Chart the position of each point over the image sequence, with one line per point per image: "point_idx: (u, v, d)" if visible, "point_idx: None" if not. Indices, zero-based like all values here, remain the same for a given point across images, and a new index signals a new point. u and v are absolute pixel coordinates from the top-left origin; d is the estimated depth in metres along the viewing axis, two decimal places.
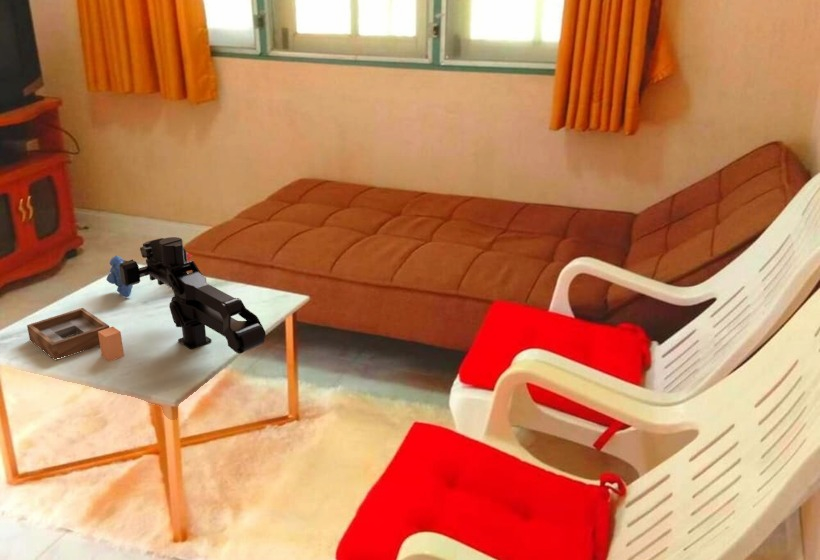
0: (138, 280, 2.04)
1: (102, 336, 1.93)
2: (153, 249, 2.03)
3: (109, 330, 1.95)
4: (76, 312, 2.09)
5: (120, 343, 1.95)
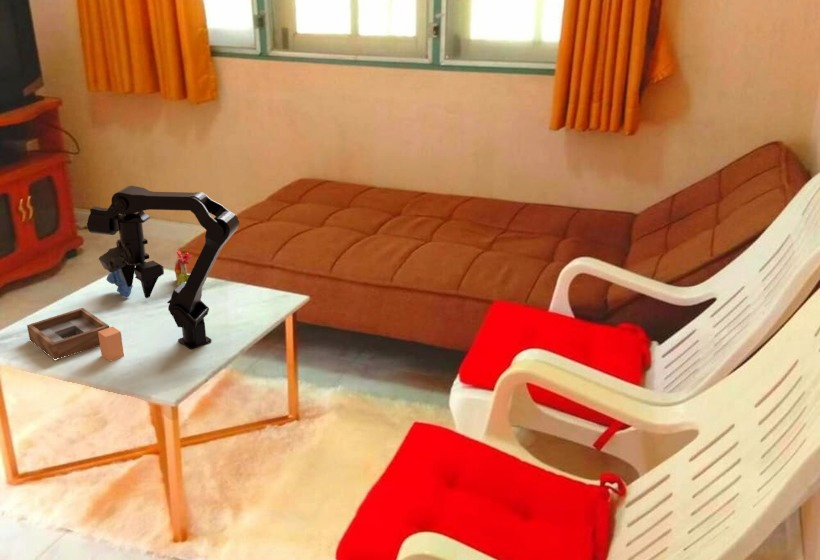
0: (152, 261, 1.95)
1: (102, 336, 1.93)
2: (112, 257, 1.91)
3: (109, 330, 1.95)
4: (76, 312, 2.09)
5: (120, 343, 1.95)
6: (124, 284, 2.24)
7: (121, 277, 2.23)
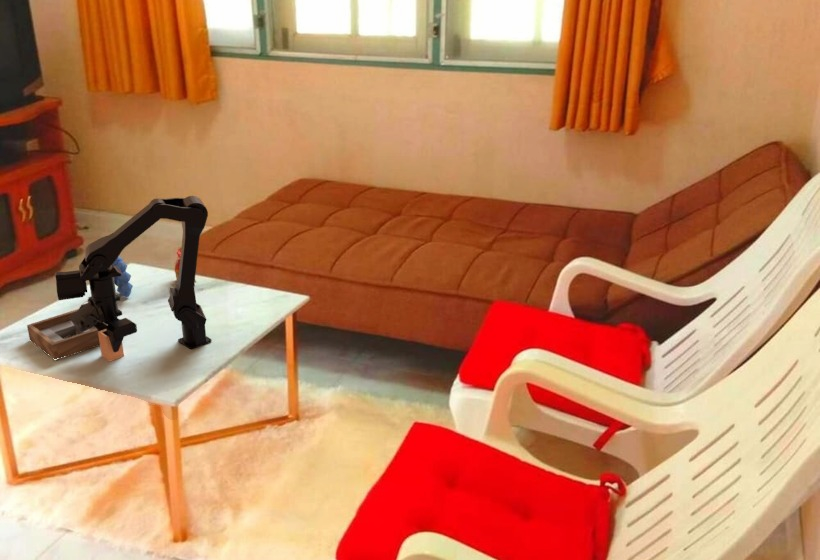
0: (125, 318, 1.90)
1: (102, 336, 1.93)
2: (83, 316, 1.86)
3: None
4: None
5: None
6: (124, 284, 2.24)
7: (121, 277, 2.23)
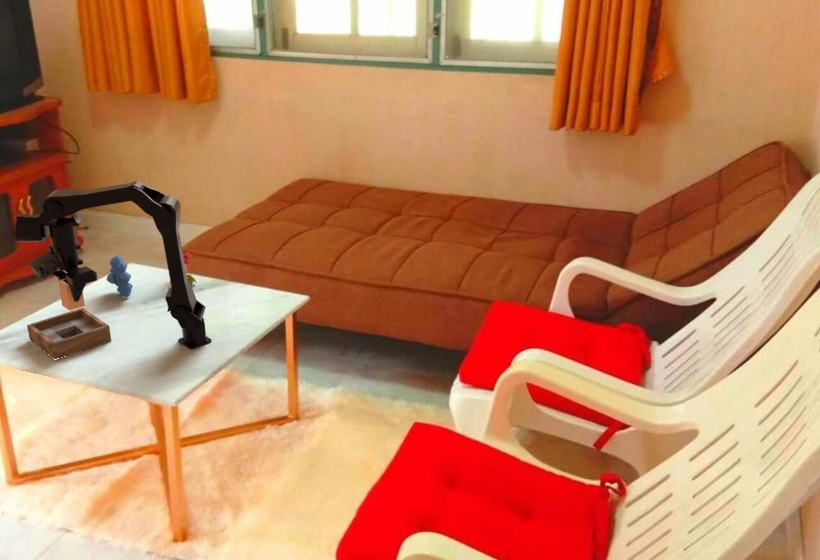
0: (85, 267, 1.90)
1: (62, 285, 1.93)
2: (43, 263, 1.86)
3: None
4: (76, 312, 2.09)
5: None
6: (124, 284, 2.24)
7: (121, 277, 2.23)
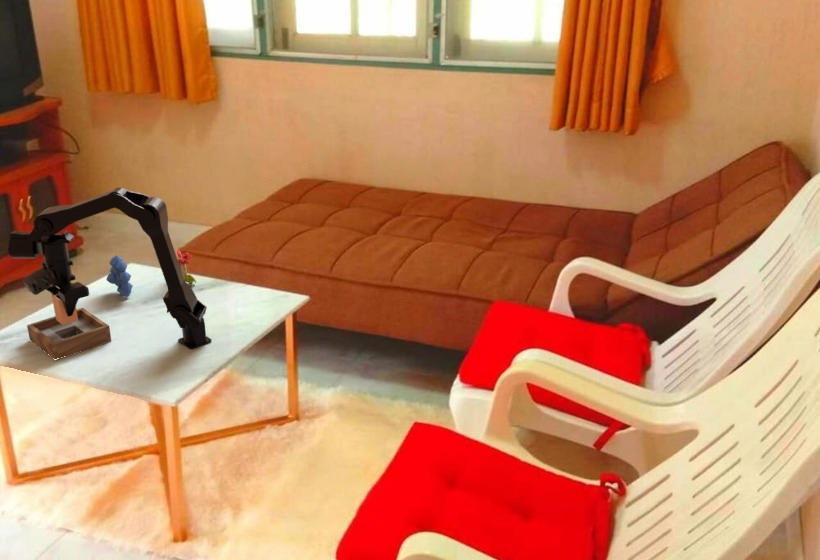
0: (77, 282, 1.94)
1: (56, 300, 1.97)
2: (36, 280, 1.90)
3: None
4: None
5: None
6: (124, 284, 2.24)
7: (121, 277, 2.23)
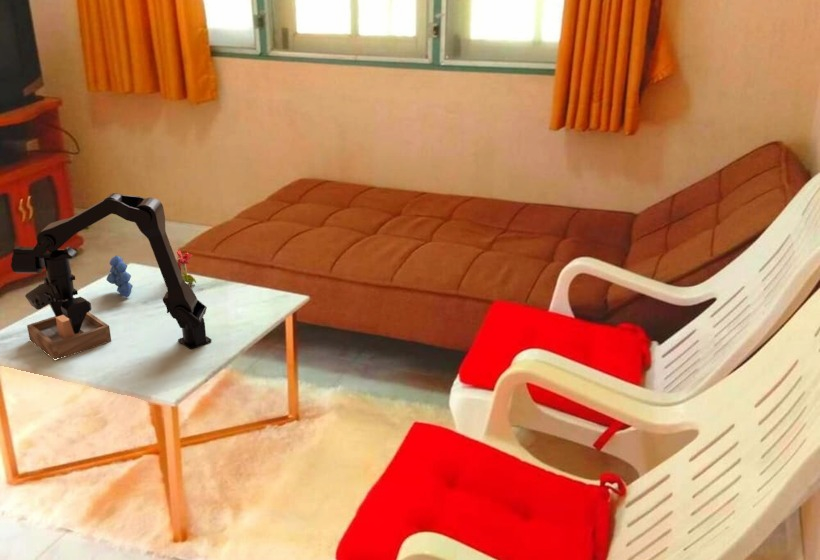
0: (80, 297, 1.95)
1: (59, 321, 1.99)
2: (38, 295, 1.92)
3: None
4: None
5: None
6: (124, 284, 2.24)
7: (121, 277, 2.23)
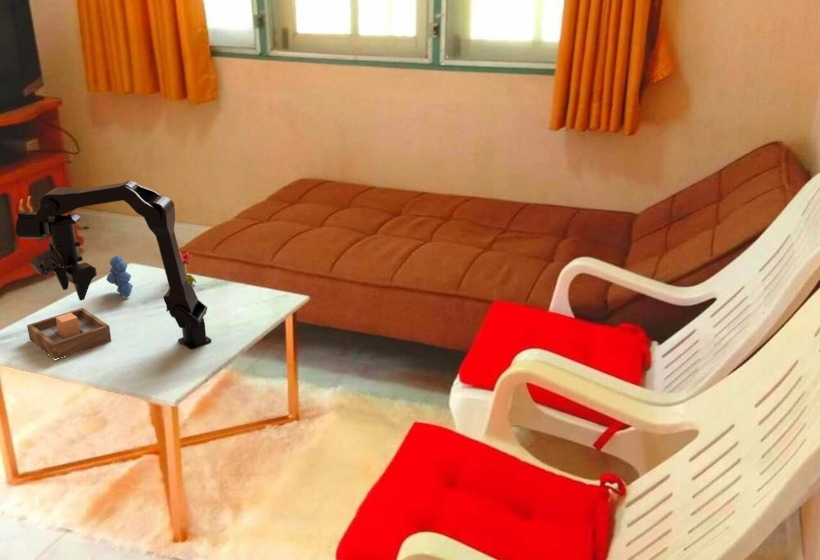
0: (85, 263, 1.94)
1: (59, 321, 1.99)
2: None
3: (66, 316, 2.01)
4: (76, 312, 2.09)
5: (77, 328, 2.02)
6: (124, 284, 2.24)
7: (121, 277, 2.23)
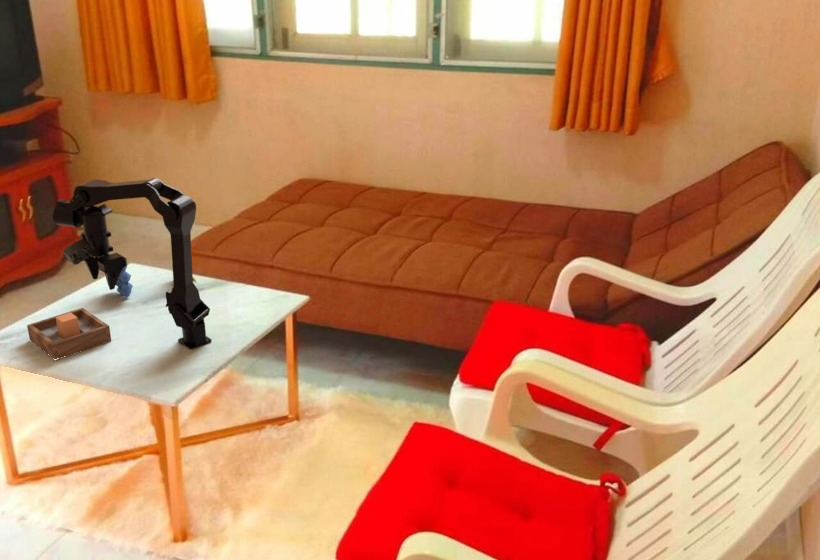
0: (116, 253, 1.99)
1: (59, 321, 1.99)
2: (76, 250, 1.96)
3: (66, 316, 2.01)
4: (76, 312, 2.09)
5: (77, 328, 2.02)
6: (124, 284, 2.24)
7: (121, 277, 2.23)
